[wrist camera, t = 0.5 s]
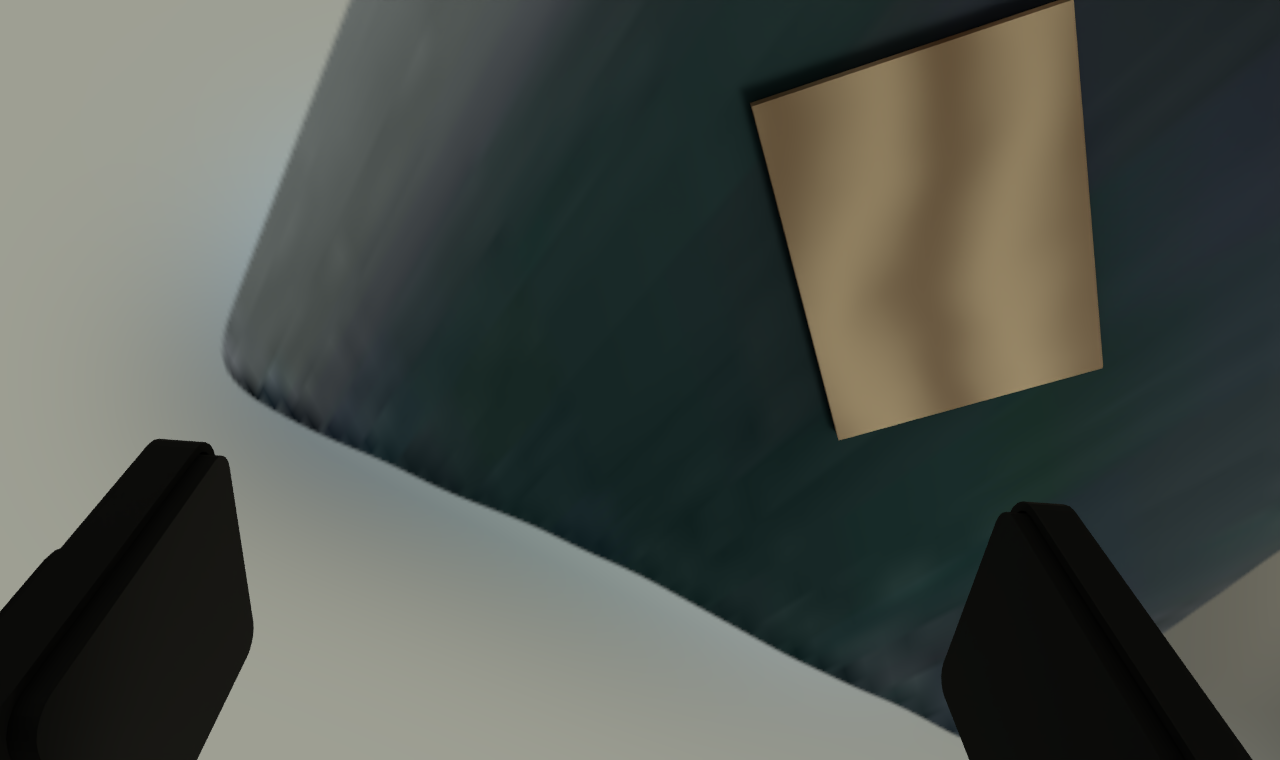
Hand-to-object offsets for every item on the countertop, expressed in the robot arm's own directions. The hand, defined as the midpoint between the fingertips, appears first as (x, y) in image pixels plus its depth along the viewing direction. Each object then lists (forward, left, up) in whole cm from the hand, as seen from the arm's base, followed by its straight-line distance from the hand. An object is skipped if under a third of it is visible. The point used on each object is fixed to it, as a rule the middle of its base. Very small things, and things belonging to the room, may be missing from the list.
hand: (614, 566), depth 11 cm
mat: (-11, +10, -27) cm, 30 cm away
